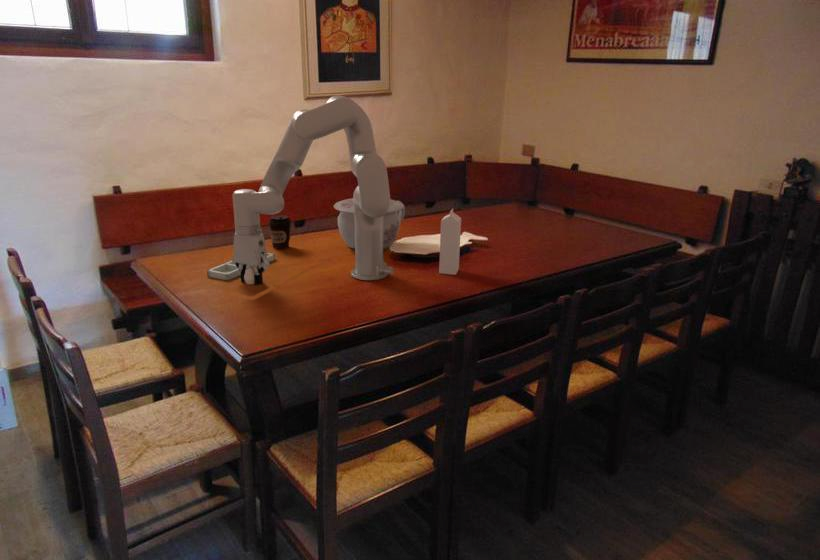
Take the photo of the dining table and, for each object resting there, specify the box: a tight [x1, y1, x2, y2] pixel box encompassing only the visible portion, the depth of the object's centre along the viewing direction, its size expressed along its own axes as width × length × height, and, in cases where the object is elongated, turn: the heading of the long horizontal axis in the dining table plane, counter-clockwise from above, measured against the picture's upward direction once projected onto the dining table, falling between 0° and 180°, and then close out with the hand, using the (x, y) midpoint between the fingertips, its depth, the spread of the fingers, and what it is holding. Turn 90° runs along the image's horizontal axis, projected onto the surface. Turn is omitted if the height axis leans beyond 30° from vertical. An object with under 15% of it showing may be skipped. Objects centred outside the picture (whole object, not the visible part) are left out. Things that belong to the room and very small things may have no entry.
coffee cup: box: [268, 214, 292, 251], centre depth 225 cm, size 9×8×13 cm
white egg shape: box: [244, 266, 255, 285], centre depth 189 cm, size 5×5×6 cm
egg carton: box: [206, 252, 276, 281], centre depth 205 cm, size 25×17×3 cm
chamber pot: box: [333, 197, 406, 250], centre depth 230 cm, size 28×28×21 cm
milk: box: [438, 208, 462, 276], centre depth 202 cm, size 6×6×22 cm
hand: (252, 283), depth 190 cm, fingers closed on white egg shape, 4 cm apart
